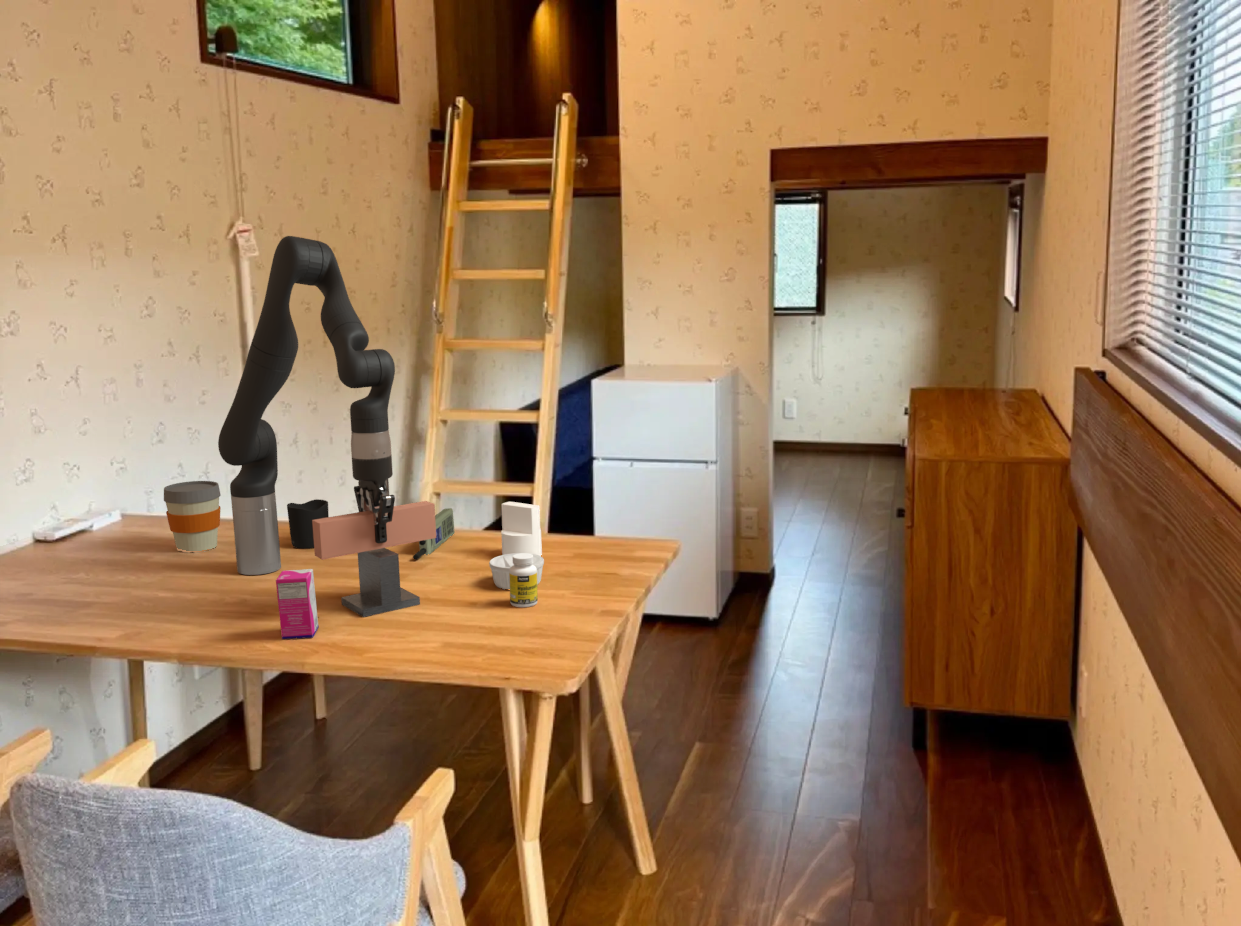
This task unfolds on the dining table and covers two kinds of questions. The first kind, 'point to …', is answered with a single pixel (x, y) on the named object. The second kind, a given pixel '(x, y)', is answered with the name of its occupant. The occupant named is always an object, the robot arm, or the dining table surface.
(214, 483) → the reusable coffee cup
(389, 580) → the stand
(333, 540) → the batten
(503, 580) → the ramekin
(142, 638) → the dining table surface
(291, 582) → the supplement box
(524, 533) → the cylinder with rectangular tab
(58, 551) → the dining table surface
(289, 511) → the pen holder
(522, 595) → the supplement bottle
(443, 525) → the handheld radio
